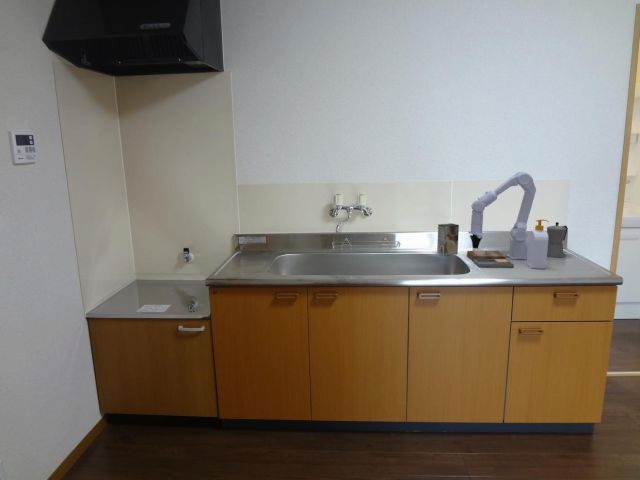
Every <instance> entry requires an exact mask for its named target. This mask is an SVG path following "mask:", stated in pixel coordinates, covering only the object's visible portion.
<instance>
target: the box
mask: <svg viewBox="0 0 640 480" xmlns="http://www.w3.org/2000/svg"><path fill="white" fill-rule="evenodd" d="M494 260H495V259H474V262H473V264H475V265H476V266H477V267H478V268H480V269H482V268H484V269H485V268H490V269H494V268H495V269H499V268H500V269H513V268H514V263H513V262H511V261H510V260H508V259H507V258H506V259H505V260H507V261H508V264H495V263H494Z"/></svg>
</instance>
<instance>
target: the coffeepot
mask: <svg viewBox="0 0 640 480" xmlns="http://www.w3.org/2000/svg"><path fill="white" fill-rule="evenodd" d="M559 223H560V222H558V221H557V222H555V225H551V226H547V227H546V232H547V234H548V249H547V257H549V258H557V259H561V258H563V257H564V253H565V252H564V245H563V242H564V241H565V240H566V236H567V233H568V231H569V230H568V229H569V228H568V226H567V225H559Z"/></svg>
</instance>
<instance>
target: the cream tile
mask: <svg viewBox="0 0 640 480" xmlns="http://www.w3.org/2000/svg"><path fill="white" fill-rule="evenodd" d="M471 251H472V252H473V253H474V254H485V251H486V250H485V249H484V248H482V247H480V248H479V247H478V248H473V247H472V250H471Z"/></svg>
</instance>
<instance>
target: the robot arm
mask: <svg viewBox="0 0 640 480" xmlns="http://www.w3.org/2000/svg"><path fill="white" fill-rule="evenodd" d="M517 186H520V187H521V188H522V190H523V191H524V194H523V195H522V196H523V197H522V199H521V203H520V208H519V210H518V215H517V218H516V221H515V223H514V225H513V227H512V228H511V230H510V236H511V238H510V240H509V241H510V242H509V251H508V253H509V254H506V255H505V256H506V257H508V258H509V259H511V260H527V252H528V241H529V240H526V239H527V236H528V235H527V228H528V227H527V224H528V221H529V217H530V212H531V209H532V206H533V203H534V199H535V195H536V192H537V188H536V185H535V182H534V179H533V177H532V176H531V174H529V173H527V172H524V171H519V172H516V173H515V174H513V175H511V176H510V177H509V178H507V179H506V180H505V181H504V182H502V183H501V184H499V186H498V187H496V188H495V189H494V190H488V191H485V192H484V194H483V195H482V196H480V197H478V198H477V200H474V201H473V202H472V203H471V205H470V206H471V209H472V212H471V218H470V219H471V220H470V221H471V222H470V231H468V232H467V233H468V234H471V235H469V238H470V240H471V245H472V249H473V248H479V246H480V243H481V241H482V239H483V225H484V224H483V223H484V211H485V209H486V208H487V207H489V205H491V204H492V203H494V202H495V201H497V199H498V196H499V195H501V194H503V193H504V192H505V191H506V190H508V189H509V188H510V187H517Z"/></svg>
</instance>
